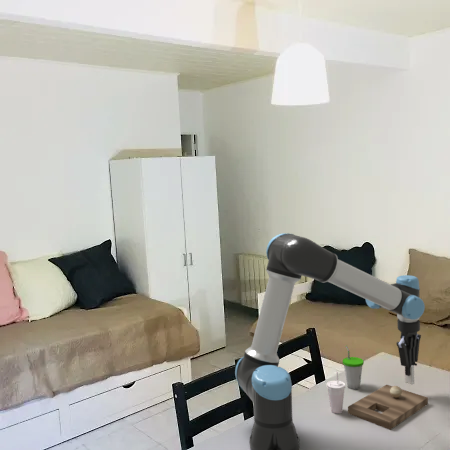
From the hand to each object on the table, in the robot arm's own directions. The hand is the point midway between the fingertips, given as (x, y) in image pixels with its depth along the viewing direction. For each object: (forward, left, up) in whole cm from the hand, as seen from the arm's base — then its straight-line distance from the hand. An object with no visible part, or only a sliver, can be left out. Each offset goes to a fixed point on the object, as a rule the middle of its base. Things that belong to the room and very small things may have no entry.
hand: (409, 382), depth 186 cm
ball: (-9, 0, 0) cm, 9 cm away
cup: (-7, +19, -5) cm, 21 cm away
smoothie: (-27, +12, -5) cm, 30 cm away
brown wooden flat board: (-14, 0, -5) cm, 15 cm away
